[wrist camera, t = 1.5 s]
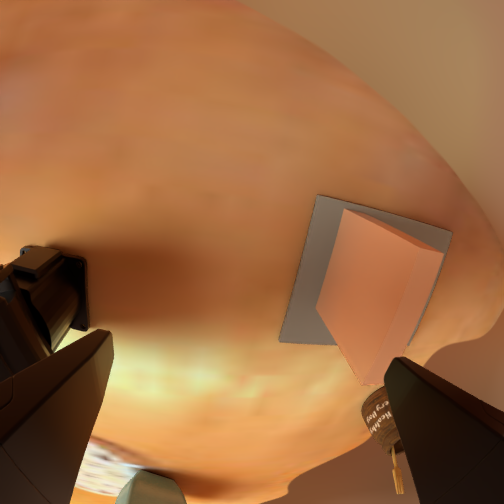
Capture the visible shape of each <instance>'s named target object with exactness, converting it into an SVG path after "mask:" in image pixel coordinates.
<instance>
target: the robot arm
mask: <svg viewBox="0 0 504 504" xmlns="http://www.w3.org/2000/svg"><path fill="white" fill-rule="evenodd" d="M25 252H26V253H25ZM78 262H81V264H82V266H80V265H79V263H78ZM82 324H84V325H85V326H83V325H82ZM89 327H90V322H89V309H88V291H87V262H86V260H85V259H84V258H83V257H79V256H74V255H68V254H63V253H62V252H61V251H60V250H56V249H51V248H46V247H41V246H35V247H34V248H33V247H28V246H24V247H23V248H21V250H20V257H18V258H17V259H15V260H14V261H12V262H11V263H8V264H5V265H3V264H0V504H70V500H71V496H72V493H73V489H74V486H75V482H76V479H77V476H78V472H79V469H80V466H81V463H82V460H83V457H84V453H85V450H86V447H87V444H88V441H89V439H90V436H91V433H92V430H93V427H94V424H95V422H96V419H97V416H98V413H99V411H100V408H101V405H102V402H103V398H104V395H105V390H106V386H107V382H108V379H109V375H110V371H111V367H112V364H113V359H114V349H113V337H112V333H111V332H110V331H107V330H102V329H97V330H95V331H93V332H91V333H90V334H88V335H86V336H84V337H82V338H80V339H79V340H77V341H75V342H73V343H71V344H70V345H68V346H66V347H64V348H62V349H60V350H59V351H57V352H55V351H56V349H57V347H58V346H59V344H60V343H61V341H62V340H63V338H64V337H65V336H66V334H67V333H68V331H69V330H70V328H72V329H76V330H80V331H85V332H86V331H87V330H88V329H89ZM54 352H55V353H54ZM384 385H385V389H386V392H387V396H388V400H389V404H390V408H391V412H392V416H393V419H394V422H395V425H396V428H397V431H398V434H399V437H400V440H401V442H402V445H403V449H404V452H405V455H406V457H407V461H408V464H409V467H410V470H411V474H412V477H413V480H414V484H415V487H416V491H417V494H418V498H419V502H420V504H504V412H503V411H501V410H499V409H497V408H495V407H493V406H491V405H489V404H487V403H485V402H483V401H482V400H479V399H478V398H476V397H475V396H473V395H471V394H469V393H467V392H466V391H464V390H462V389H460V388H459V387H457V386H455V385H453V384H452V383H450V382H448V381H446V380H445V379H442V378H441V377H439V376H437V375H436V374H434V373H432V372H430V371H429V370H427V369H425V368H424V367H422V366H420V365H418V364H417V363H415V362H413V361H411V360H410V359H408V358H406V357H395V358H393V359H392V361H391V363H390V365H389V367H388V369H387V371H386V372H385V374H384Z"/></svg>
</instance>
